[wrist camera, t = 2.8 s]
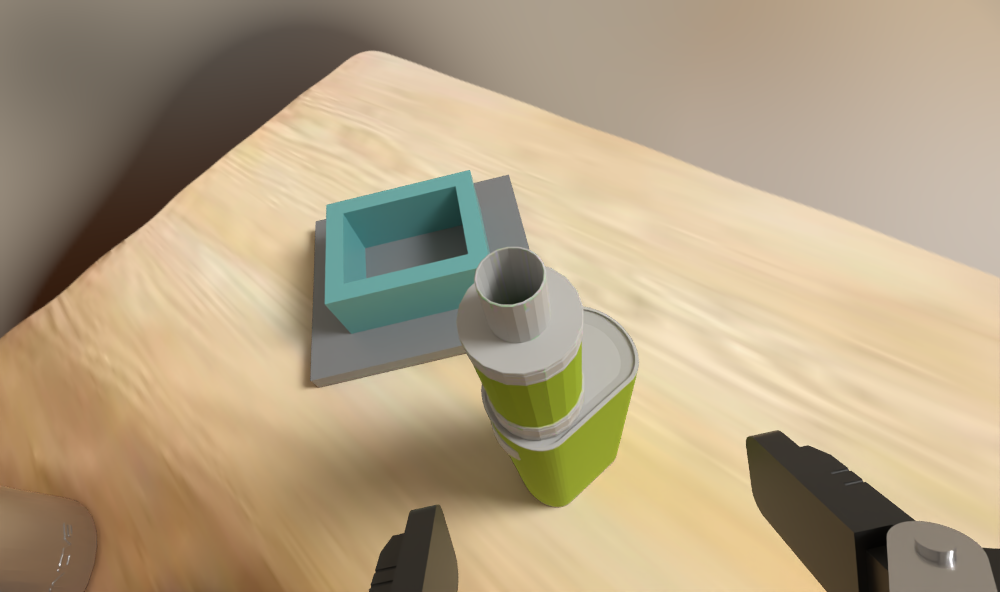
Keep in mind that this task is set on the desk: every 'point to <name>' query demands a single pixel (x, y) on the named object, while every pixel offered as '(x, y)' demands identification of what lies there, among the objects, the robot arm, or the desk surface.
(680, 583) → the desk surface
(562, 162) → the desk surface
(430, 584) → the robot arm
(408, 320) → the dock
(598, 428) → the vape
